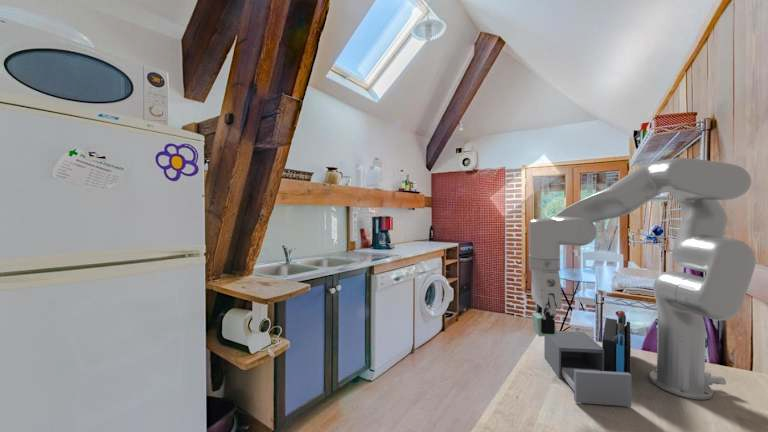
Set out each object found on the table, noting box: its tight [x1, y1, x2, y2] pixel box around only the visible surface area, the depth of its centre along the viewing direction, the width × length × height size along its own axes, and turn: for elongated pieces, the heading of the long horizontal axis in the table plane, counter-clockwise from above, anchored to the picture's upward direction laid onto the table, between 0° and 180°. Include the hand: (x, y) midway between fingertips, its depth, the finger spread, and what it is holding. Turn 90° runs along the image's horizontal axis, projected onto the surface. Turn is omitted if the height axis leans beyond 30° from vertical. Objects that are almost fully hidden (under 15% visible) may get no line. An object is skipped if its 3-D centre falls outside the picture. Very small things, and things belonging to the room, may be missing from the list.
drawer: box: [561, 367, 632, 407], centre depth 84 cm, size 13×13×8 cm
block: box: [531, 312, 557, 337], centre depth 85 cm, size 4×4×5 cm
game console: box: [601, 310, 632, 374], centre depth 95 cm, size 28×6×15 cm, turn 142°
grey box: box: [543, 330, 604, 380], centre depth 95 cm, size 12×12×9 cm
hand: (544, 329), depth 85 cm, fingers closed on block, 3 cm apart
